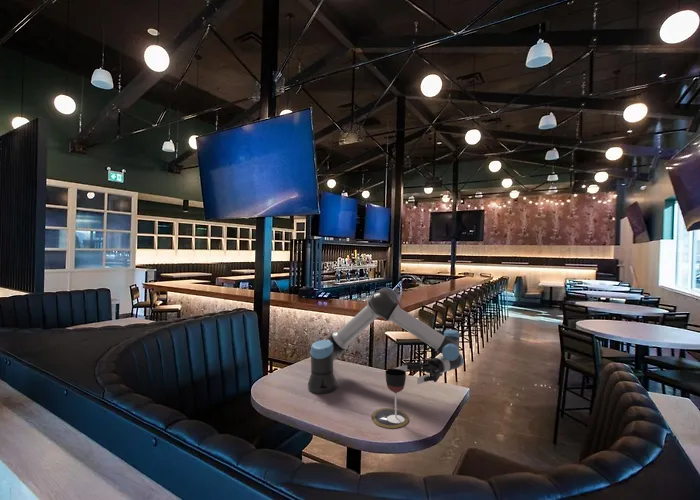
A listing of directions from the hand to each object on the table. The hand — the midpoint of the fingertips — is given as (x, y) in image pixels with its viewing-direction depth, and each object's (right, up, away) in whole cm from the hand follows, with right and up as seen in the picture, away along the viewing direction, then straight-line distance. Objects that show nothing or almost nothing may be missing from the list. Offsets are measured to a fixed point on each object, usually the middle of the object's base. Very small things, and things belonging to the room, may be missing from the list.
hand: (406, 375), depth 156 cm
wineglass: (-6, -16, -8) cm, 19 cm away
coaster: (-8, -16, -6) cm, 19 cm away
